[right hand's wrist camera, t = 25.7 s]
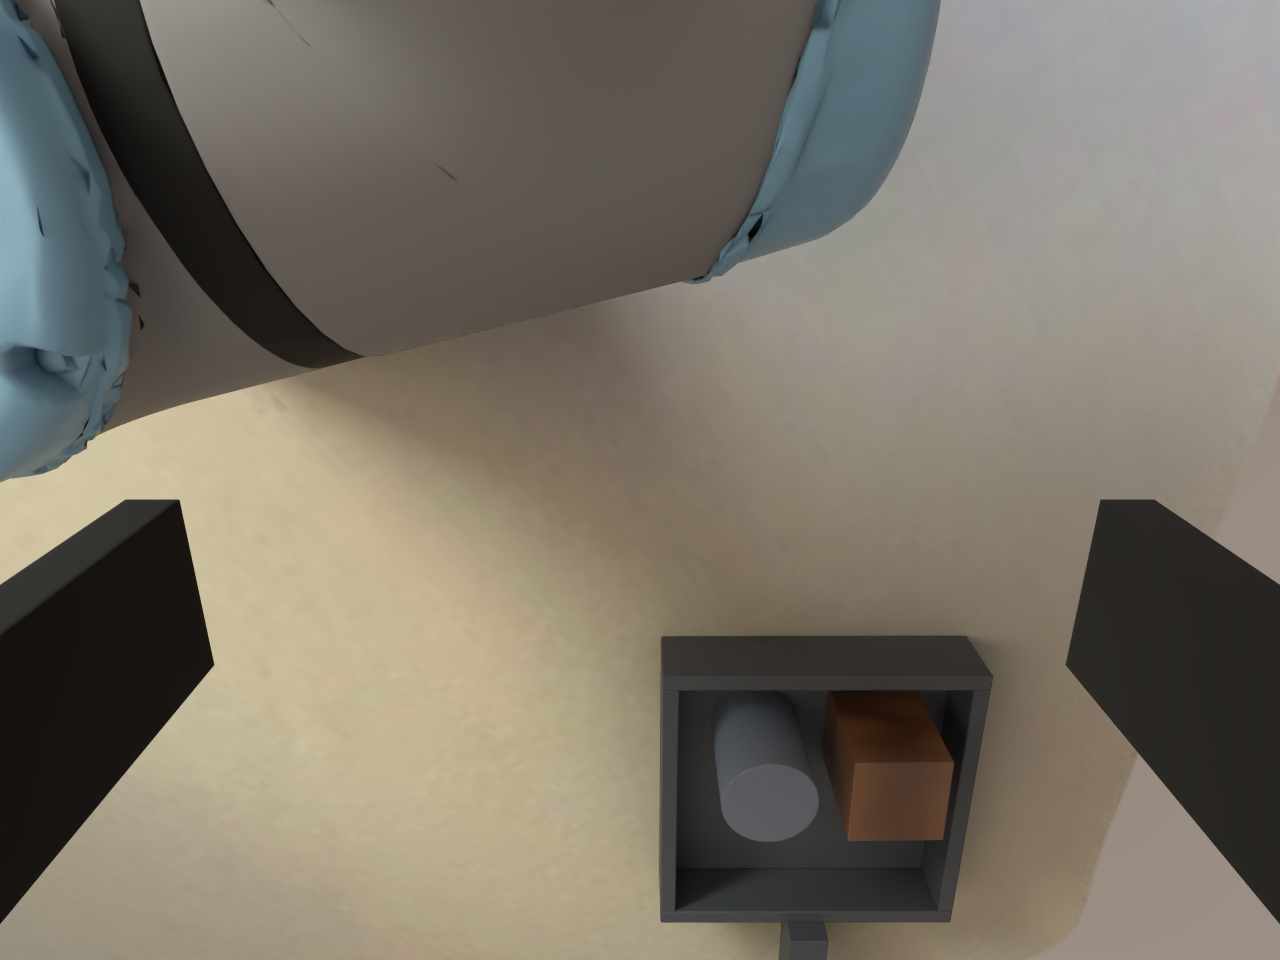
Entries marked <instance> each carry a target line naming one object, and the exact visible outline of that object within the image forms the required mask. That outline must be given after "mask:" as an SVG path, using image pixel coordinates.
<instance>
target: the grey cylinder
mask: <svg viewBox="0 0 1280 960" xmlns="http://www.w3.org/2000/svg"><path fill="white" fill-rule="evenodd" d="M711 726H712V735H713V743H714V752H715V760H716V768H717V776H718V784H719V792H720V800H721V809H722V813H723V816H724V818H725V820H726V822H727V823H728V825H729V826H730V827H731V828H732V829H733V830H734V831H735V832H737V833H738V834H740V835H742V836H743V837H746V838H748V839H751V840H755V841H761V842H774V841H781V840H784V839H788V838H790V837H793V836H795V835H797V834H798V833H800V832H801V831H803V830H804V829H805V828H806V827H807V826H808V825H809V824H810V823H811V822H812V821H813V819H814V817H815V816H816V813H817V811H818V807H819V794H818V790H817V787H816V783H815V779H814V776H813V772H812V768H811V765H810V761H809V758H808V754H807V750H806V747H805V743H804V740H803V736H802V732H801V729H800V725H799V721H798V718H797V714H796V711H795V709H794V707H793V705H792V703H791V702H790V701H789V700H788V699H787V698H786V697H785V696H784V695H782V694H781V693H779V692H777V691H775V690H737V691H735V692H733V693H731V694H729V695H728V696H726V697H725V698H724V699H723V700H722V701H721V702H720V703H719V704H718V706H717V707H716V709H715V711H714V713H713V716H712V722H711Z"/></svg>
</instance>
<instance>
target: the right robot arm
mask: <svg viewBox="0 0 1280 960" xmlns="http://www.w3.org/2000/svg"><path fill="white" fill-rule="evenodd" d="M940 2H941V0H0V482H2V481H5V480H7V479H10V478H19V477H27V476H33V475H38V474H43V473H46V472H48V471H51V470H54V469H56V468H58V467H59V466H60V465H62V464H63V463H65V462H66V461H67V460H68V459H69V458H70V457H71V456H72V455H75V454H78V453H80V452H81V451H83V450H85V449H87V441H89V440H93V439H94V438H95V437H96V436H98V435H99V434H101V433H103V432H106V431H108V430H110V429H113V428H115V427H117V426H120V425H122V424H125V423H128V422H130V421H133V420H136V419H139V418H141V417H144V416H147V415H150V414H153V413H156V412H159V411H162V410H165V409H169V408H172V407H175V406H179V405H182V404H186V403H189V402H193V401H197V400H201V399H205V398H209V397H213V396H217V395H221V394H225V393H228V392H232V391H236V390H240V389H244V388H248V387H252V386H256V385H260V384H264V383H267V382H271V381H275V380H279V379H283V378H287V377H291V376H295V375H299V374H302V373H306V372H310V371H314V370H318V369H321V368H324V367H328V366H332V365H335V364H339V363H343V362H347V361H351V360H355V359H359V358H362V357H366V356H381V355H385V354H389V353H393V352H397V351H401V350H405V349H409V348H414V347H418V346H422V345H426V344H430V343H434V342H438V341H442V340H446V339H450V338H454V337H458V336H462V335H466V334H470V333H474V332H478V331H482V330H486V329H490V328H494V327H498V326H502V325H506V324H510V323H515V322H519V321H523V320H527V319H531V318H535V317H539V316H543V315H547V314H551V313H555V312H559V311H563V310H567V309H571V308H575V307H579V306H583V305H587V304H591V303H595V302H599V301H603V300H607V299H612V298H616V297H620V296H624V295H628V294H632V293H636V292H640V291H644V290H648V289H652V288H656V287H660V286H664V285H668V284H672V283H676V282H680V281H681V282H684V283H689V284H697V283H703V282H708V281H710V279H711V278H712V277H715V276H722V275H723V274H725V273H726V272H727V271H728V270H730V269H731V268H732V267H733V266H735V265H736V264H737V263H740V262H743V261H746V260H750V259H753V258H756V257H760V256H763V255H766V254H769V253H773V252H776V251H779V250H783V249H786V248H789V247H793V246H796V245H799V244H802V243H806V242H809V241H812V240H816V239H819V238H821V237H823V236H825V235H827V234H829V233H830V232H832V231H833V230H835V229H836V228H838V227H840V226H841V225H843V224H844V223H846V222H847V221H849V220H850V219H852V218H853V217H854V216H855V214H856V213H858V212H859V211H860V210H861V209H863V208H864V207H865V206H866V205H867V204H868V203H869V201H870V200H871V199H872V198H873V197H874V195H875V194H876V192H877V191H878V190H879V188H880V187H881V185H882V184H883V182H884V181H885V179H886V177H887V176H888V174H889V172H890V171H891V169H892V167H893V165H894V163H895V162H896V160H897V158H898V156H899V154H900V152H901V149H902V147H903V145H904V143H905V140H906V138H907V135H908V133H909V130H910V128H911V125H912V122H913V119H914V116H915V113H916V110H917V107H918V104H919V100H920V96H921V93H922V89H923V85H924V81H925V77H926V74H927V70H928V66H929V62H930V57H931V52H932V47H933V42H934V37H935V32H936V27H937V22H938V16H939V9H940ZM213 666H214V661H213V656H212V652H211V647H210V642H209V638H208V633H207V628H206V623H205V619H204V614H203V609H202V604H201V600H200V595H199V590H198V586H197V581H196V576H195V571H194V567H193V562H192V557H191V552H190V548H189V543H188V538H187V533H186V529H185V524H184V519H183V515H182V510H181V505H180V500H124V501H123V502H121V503H120V504H118V505H117V506H116V507H114V508H113V509H111V510H110V511H108V512H107V513H105V514H104V515H102V516H101V517H99V518H98V519H96V520H95V521H93V522H92V523H91V524H89V525H88V526H86V527H85V528H83V529H82V530H80V531H79V532H77V533H76V534H74V535H73V536H71V537H70V538H68V539H67V540H66V541H64V542H63V543H61V544H60V545H58V546H57V547H55V548H54V549H52V550H51V551H49V552H48V553H46V554H45V555H43V556H42V557H41V558H39V559H38V560H36V561H35V562H33V563H32V564H30V565H29V566H27V567H26V568H24V569H23V570H21V571H20V572H18V573H17V574H16V575H14V576H13V577H11V578H10V579H8V580H7V581H5V582H4V583H2V584H1V585H0V924H1V922H2V921H3V920H4V919H5V918H6V916H7V915H8V914H9V913H10V911H11V910H12V909H13V908H14V907H15V905H16V904H17V903H18V902H19V901H20V899H21V898H22V897H23V896H24V895H25V893H26V892H27V891H28V890H29V888H30V887H31V886H32V885H33V884H34V882H35V881H36V880H37V879H38V878H39V876H40V875H41V874H42V873H43V872H44V870H45V869H46V868H47V867H48V865H49V864H50V863H51V862H52V861H53V859H54V858H55V857H56V856H57V855H58V853H59V852H60V851H61V850H62V849H63V847H64V846H65V845H66V844H67V843H68V841H69V840H70V839H71V838H72V836H73V835H74V834H75V833H76V832H77V830H78V829H79V828H80V827H81V826H82V824H83V823H84V822H85V821H86V820H87V818H88V817H89V816H90V815H91V813H92V812H93V811H94V810H95V809H96V807H97V806H98V805H99V804H100V803H101V801H102V800H103V799H104V798H105V797H106V795H107V794H108V793H109V792H110V790H111V789H112V788H113V787H114V786H115V784H116V783H117V782H118V781H119V780H120V778H121V777H122V776H123V775H124V774H125V772H126V771H127V770H128V769H129V768H130V766H131V765H132V764H133V763H134V761H135V760H136V759H137V758H138V757H139V755H140V754H141V753H142V752H143V751H144V749H145V748H146V747H147V746H148V745H149V743H150V742H151V741H152V740H153V738H154V737H155V736H156V735H157V734H158V732H159V731H160V730H161V729H162V728H163V726H164V725H165V724H166V723H167V722H168V720H169V719H170V718H171V717H172V715H173V714H174V713H175V712H176V711H177V709H178V708H179V707H180V706H181V705H182V703H183V702H184V701H185V700H186V699H187V697H188V696H189V695H190V694H191V692H192V691H193V690H194V689H195V688H196V686H197V685H198V684H199V683H200V682H201V680H202V679H203V678H204V677H205V676H206V674H207V673H208V672H209V671H210V670H211V668H212V667H213ZM1066 666H1067V667H1068V668H1069V670H1070V671H1071V672H1072V673H1073V674H1074V676H1075V677H1076V678H1077V679H1078V680H1079V682H1080V683H1081V684H1082V685H1083V686H1084V688H1085V689H1086V690H1087V691H1088V692H1089V694H1090V695H1091V696H1092V697H1093V699H1094V700H1095V701H1096V702H1097V703H1098V705H1099V706H1100V707H1101V708H1102V709H1103V711H1104V712H1105V713H1106V714H1107V715H1108V717H1109V718H1110V719H1111V720H1112V722H1113V723H1114V724H1115V725H1116V726H1117V728H1118V729H1119V730H1120V731H1121V732H1122V734H1123V735H1124V736H1125V737H1126V738H1127V740H1128V741H1129V742H1130V743H1131V745H1132V746H1133V747H1134V748H1135V749H1136V751H1137V752H1138V753H1139V754H1140V755H1141V757H1142V758H1143V759H1144V760H1145V761H1146V763H1147V764H1148V765H1149V766H1150V768H1151V769H1152V770H1153V771H1154V772H1155V774H1156V775H1157V776H1158V777H1159V778H1160V780H1161V781H1162V782H1163V783H1164V784H1165V786H1166V787H1167V788H1168V789H1169V790H1170V792H1171V793H1172V794H1173V795H1174V797H1175V798H1176V799H1177V800H1178V801H1179V803H1180V804H1181V805H1182V806H1183V807H1184V809H1185V810H1186V811H1187V812H1188V813H1189V815H1190V816H1191V817H1192V818H1193V820H1194V821H1195V822H1196V823H1197V824H1198V826H1199V827H1200V828H1201V829H1202V830H1203V832H1204V833H1205V834H1206V835H1207V836H1208V838H1209V839H1210V840H1211V841H1212V843H1213V844H1214V845H1215V846H1216V847H1217V849H1218V850H1219V851H1220V852H1221V853H1222V855H1223V856H1224V857H1225V858H1226V859H1227V861H1228V862H1229V863H1230V864H1231V865H1232V867H1233V868H1234V869H1235V870H1236V872H1237V873H1238V874H1239V875H1240V876H1241V878H1242V879H1243V880H1244V881H1245V882H1246V884H1247V885H1248V886H1249V887H1250V888H1251V890H1252V891H1253V892H1254V893H1255V895H1256V896H1257V897H1258V898H1259V899H1260V901H1261V902H1262V903H1263V904H1264V905H1265V907H1266V908H1267V909H1268V910H1269V911H1270V913H1271V914H1272V915H1273V916H1274V917H1275V919H1276V920H1277V921H1278V922H1279V924H1280V585H1279V584H1278V583H1276V582H1275V581H1273V580H1272V579H1270V578H1269V577H1267V576H1266V575H1264V574H1263V573H1262V572H1260V571H1259V570H1257V569H1256V568H1254V567H1253V566H1251V565H1250V564H1248V563H1247V562H1245V561H1244V560H1242V559H1241V558H1239V557H1238V556H1237V555H1235V554H1233V553H1232V552H1231V551H1229V550H1228V549H1226V548H1225V547H1223V546H1222V545H1220V544H1219V543H1217V542H1216V541H1214V540H1213V539H1212V538H1210V537H1209V536H1207V535H1206V534H1204V533H1203V532H1201V531H1200V530H1198V529H1197V528H1195V527H1194V526H1192V525H1191V524H1189V523H1188V522H1187V521H1185V520H1184V519H1182V518H1181V517H1179V516H1178V515H1176V514H1175V513H1173V512H1172V511H1170V510H1169V509H1167V508H1166V507H1164V506H1163V505H1162V504H1160V503H1159V502H1157V501H1156V500H1100V505H1099V510H1098V515H1097V519H1096V524H1095V529H1094V533H1093V538H1092V543H1091V548H1090V552H1089V557H1088V562H1087V567H1086V571H1085V576H1084V581H1083V585H1082V590H1081V595H1080V600H1079V604H1078V609H1077V614H1076V619H1075V623H1074V628H1073V633H1072V638H1071V642H1070V647H1069V652H1068V656H1067V661H1066Z"/></svg>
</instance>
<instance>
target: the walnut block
mask: <svg viewBox="0 0 1280 960" xmlns="http://www.w3.org/2000/svg"><path fill="white" fill-rule="evenodd" d="M823 760H824V763H825V767H826V770H827V773H828V777H829V780H830V783H831V787H832V790H833V793H834V797H835V800H836V803H837V806H838V810H839V813H840V816H841V820H842V823H843V826H844V830H845V833H846V836H847V839H848V841H892V840H943V836H944V829H945V822H946V816H947V809H948V802H949V795H950V788H951V781H952V775H953V768H954V762H953V760H952V758H951V756H950V754H949V752H948V750H947V748H946V746H945V744H944V742H943V740H942V738H941V736H940V734H939V732H938V730H937V728H936V726H935V724H934V722H933V721H932V719H931V717H930V715H929V713H928V711H927V709H926V707H925V705H924V703H923V701H922V699H921V697H920V695H919V693H918V691H917V690H828V693H827V706H826V719H825V732H824V744H823Z"/></svg>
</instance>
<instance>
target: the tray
mask: <svg viewBox="0 0 1280 960" xmlns="http://www.w3.org/2000/svg"><path fill="white" fill-rule="evenodd" d="M992 679H993V676H992V674H991V673H990V671H989V670H988V668H987V667H986V665H985V664H984V662H983V661H982V659H981V658H980V656H979V655H978V653H977V652H976V650H975V649H974V647H973V646H972V644H971V643H970V642H969V640H968V639H967V637H965V636H902V637H661V709H660V832H659V882H660V921H661V922H782V925H781V938H780V951H779V960H826V958H827V948H828V938H827V934H826V930H825V926H824V922H950V920H951V914H952V908H953V903H954V897H955V891H956V885H957V880H958V874H959V868H960V862H961V857H962V851H963V845H964V839H965V833H966V828H967V822H968V816H969V810H970V805H971V799H972V793H973V787H974V781H975V776H976V770H977V764H978V758H979V753H980V747H981V741H982V735H983V730H984V724H985V718H986V712H987V706H988V701H989V695H990V690H991V685H992ZM737 690H775V691H777V692H779V693H781V694H782V695H784V696H785V697H786V698H787V699H788V700H789V701H790V702H791V703H792V705H793V707H794V709H795V711H796V714H797V718H798V721H799V725H800V729H801V732H802V736H803V740H804V743H805V747H806V750H807V754H808V758H809V761H810V765H811V768H812V772H813V776H814V779H815V783H816V787H817V790H818V794H819V807H818V811H817V813H816V816H815V817H814V819H813V821H812V822H811V823H810V824H809V825H808V826H807V827H806V828H805V829H804V830H803V831H801V832H800V833H798V834H797V835H795V836H793V837H790V838H788V839H784V840H781V841H774V842H761V841H755V840H751V839H748V838H746V837H743V836H742V835H740V834H738V833H737V832H735V831H734V830H733V829H732V828H731V827H730V826H729V825H728V823H727V822H726V820H725V818H724V816H723V813H722V809H721V800H720V792H719V784H718V776H717V768H716V760H715V752H714V743H713V735H712V726H711V722H712V716H713V713H714V711H715V709H716V707H717V706H718V704H719V703H720V702H721V701H722V700H723V699H724V698H725V697H726V696H728V695H729V694H731V693H733V692H735V691H737ZM828 690H917V691H918V693H919V695H920V697H921V699H922V701H923V703H924V705H925V707H926V709H927V711H928V713H929V715H930V717H931V719H932V721H933V722H934V724H935V726H936V728H937V730H938V732H939V734H940V736H941V738H942V740H943V742H944V744H945V746H946V748H947V750H948V752H949V754H950V756H951V758H952V760H953V762H954V768H953V775H952V781H951V788H950V795H949V802H948V809H947V816H946V822H945V829H944V836H943V840H892V841H848V839H847V836H846V833H845V830H844V826H843V823H842V820H841V816H840V813H839V810H838V806H837V803H836V800H835V797H834V793H833V790H832V787H831V783H830V780H829V777H828V773H827V770H826V767H825V763H824V760H823V744H824V732H825V719H826V706H827V693H828Z"/></svg>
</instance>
